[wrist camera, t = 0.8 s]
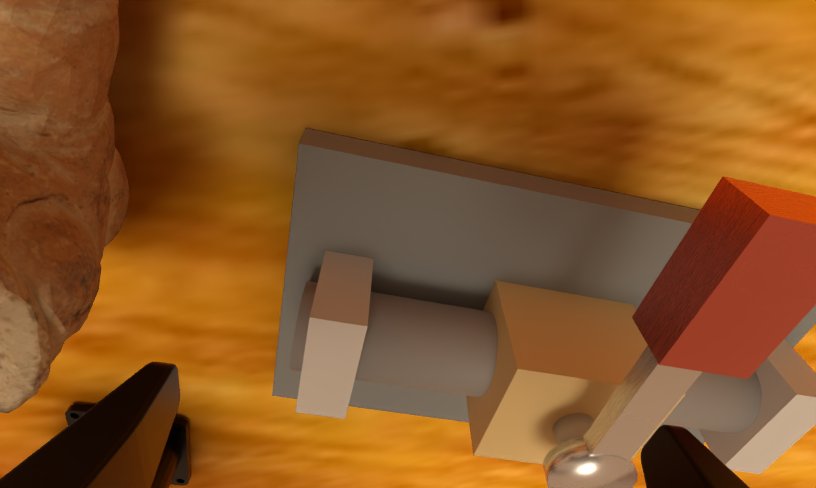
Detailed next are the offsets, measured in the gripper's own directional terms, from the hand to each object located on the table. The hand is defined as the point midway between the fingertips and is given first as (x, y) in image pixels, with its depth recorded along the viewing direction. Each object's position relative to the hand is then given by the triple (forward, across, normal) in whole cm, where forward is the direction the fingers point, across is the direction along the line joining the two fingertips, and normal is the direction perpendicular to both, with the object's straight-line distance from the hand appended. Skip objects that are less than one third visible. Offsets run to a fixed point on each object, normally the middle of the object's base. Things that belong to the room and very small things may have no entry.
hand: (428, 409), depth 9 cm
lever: (+5, -8, +3) cm, 9 cm away
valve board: (+12, -8, +7) cm, 16 cm away
